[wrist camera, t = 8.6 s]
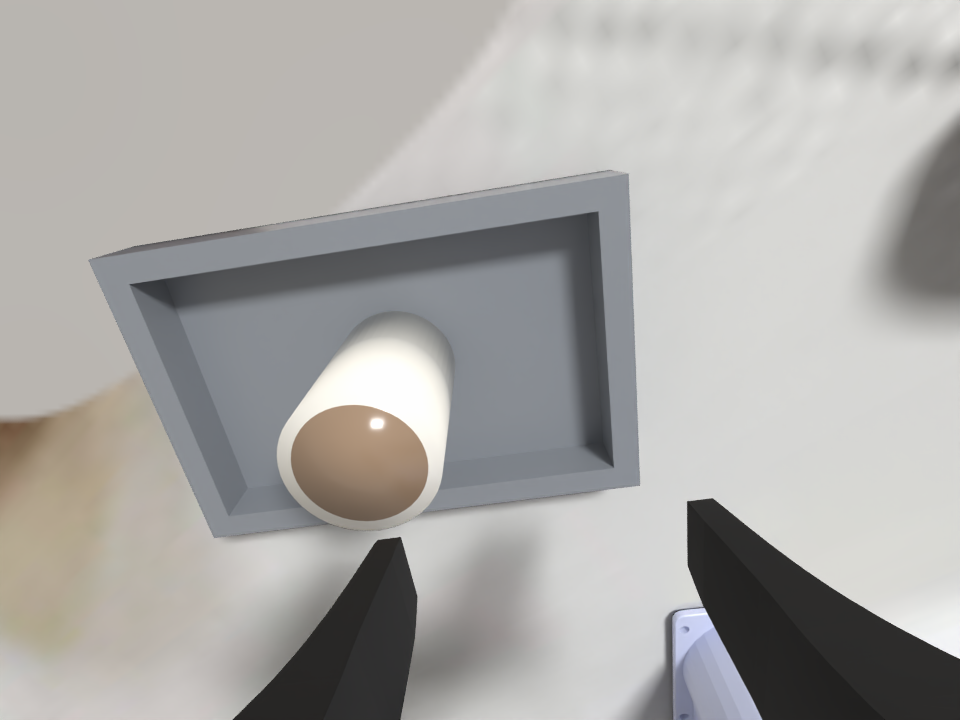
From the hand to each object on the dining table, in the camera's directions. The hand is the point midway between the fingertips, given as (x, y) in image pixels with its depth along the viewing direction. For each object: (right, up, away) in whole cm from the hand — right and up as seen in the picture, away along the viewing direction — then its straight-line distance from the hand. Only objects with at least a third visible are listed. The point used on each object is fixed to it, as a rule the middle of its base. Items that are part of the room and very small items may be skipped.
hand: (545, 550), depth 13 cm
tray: (-5, +5, +8) cm, 11 cm away
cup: (-5, +5, +8) cm, 10 cm away
